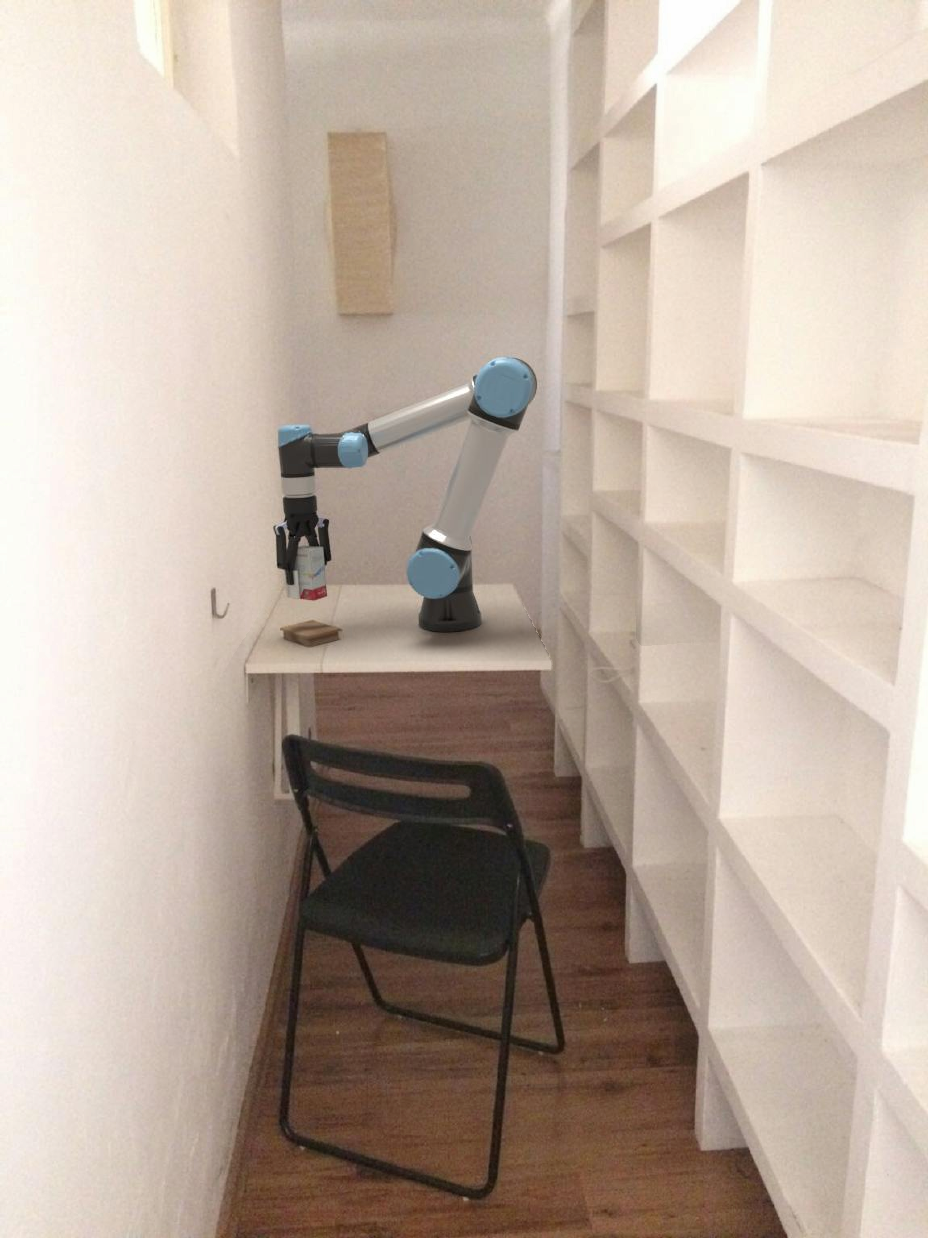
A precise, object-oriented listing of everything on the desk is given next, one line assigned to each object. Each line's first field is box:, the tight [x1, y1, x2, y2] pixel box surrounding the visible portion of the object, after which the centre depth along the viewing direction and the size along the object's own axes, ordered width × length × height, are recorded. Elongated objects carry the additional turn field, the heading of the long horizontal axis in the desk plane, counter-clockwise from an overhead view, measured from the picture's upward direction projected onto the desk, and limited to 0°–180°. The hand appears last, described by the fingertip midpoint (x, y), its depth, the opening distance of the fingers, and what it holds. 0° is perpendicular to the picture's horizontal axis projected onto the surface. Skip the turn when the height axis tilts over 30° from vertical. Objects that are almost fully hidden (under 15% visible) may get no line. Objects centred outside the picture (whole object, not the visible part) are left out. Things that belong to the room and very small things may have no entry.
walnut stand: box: [279, 619, 342, 648], centre depth 225 cm, size 12×9×2 cm
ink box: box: [284, 544, 328, 602], centre depth 221 cm, size 9×5×12 cm, turn 57°
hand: (307, 595), depth 223 cm, fingers closed on ink box, 6 cm apart
